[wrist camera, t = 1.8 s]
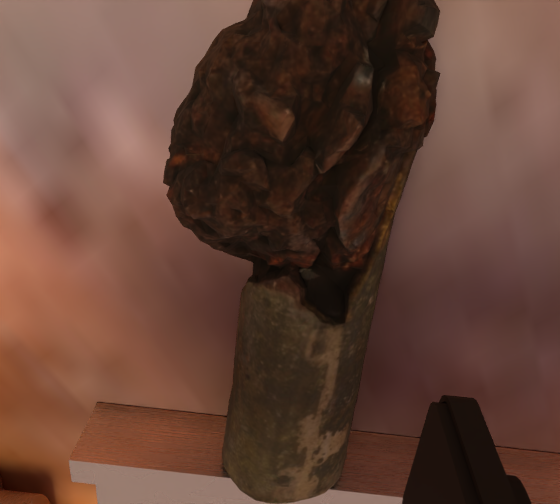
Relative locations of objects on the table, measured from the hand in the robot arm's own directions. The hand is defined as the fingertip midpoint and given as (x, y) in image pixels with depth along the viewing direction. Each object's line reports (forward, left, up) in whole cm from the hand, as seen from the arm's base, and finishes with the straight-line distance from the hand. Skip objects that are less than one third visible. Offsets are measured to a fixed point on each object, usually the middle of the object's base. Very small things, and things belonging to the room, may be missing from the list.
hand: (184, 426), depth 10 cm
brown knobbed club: (-2, 0, -10) cm, 10 cm away
